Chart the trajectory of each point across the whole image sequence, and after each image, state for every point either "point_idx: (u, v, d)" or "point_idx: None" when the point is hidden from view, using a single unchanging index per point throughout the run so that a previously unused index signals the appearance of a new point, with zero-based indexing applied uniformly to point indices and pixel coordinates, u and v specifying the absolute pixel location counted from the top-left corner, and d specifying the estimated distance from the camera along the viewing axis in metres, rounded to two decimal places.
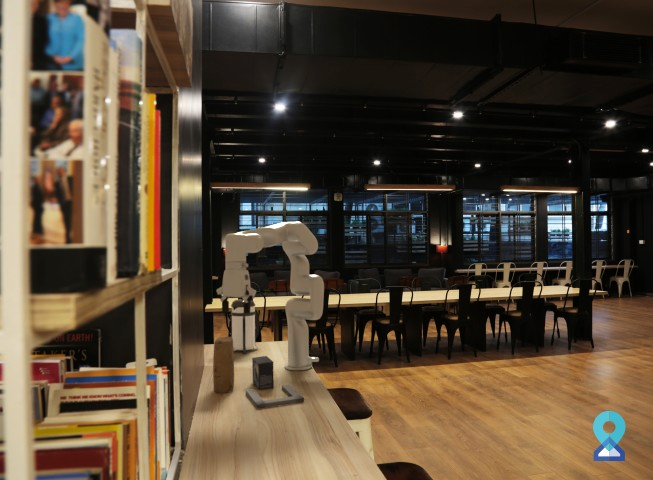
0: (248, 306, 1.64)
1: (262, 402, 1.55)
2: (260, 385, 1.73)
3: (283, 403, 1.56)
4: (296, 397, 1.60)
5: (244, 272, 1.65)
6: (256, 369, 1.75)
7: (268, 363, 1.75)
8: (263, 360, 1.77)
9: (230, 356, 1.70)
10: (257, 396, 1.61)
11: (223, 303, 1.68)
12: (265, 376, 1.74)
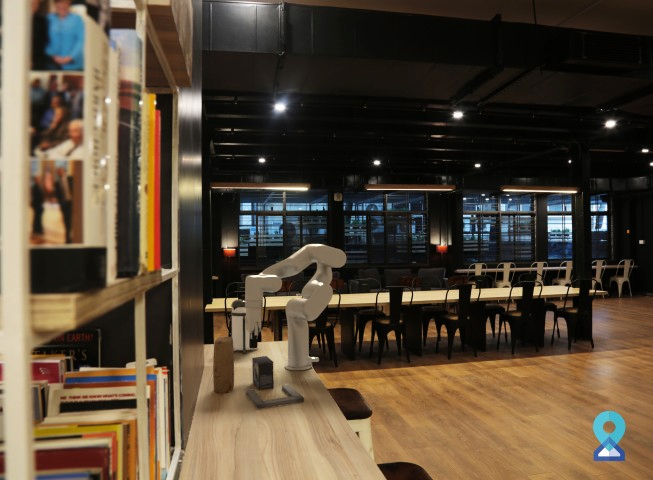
0: None
1: (262, 402, 1.55)
2: (260, 385, 1.73)
3: (283, 403, 1.56)
4: (296, 397, 1.60)
5: None
6: (256, 369, 1.75)
7: (268, 363, 1.75)
8: (263, 360, 1.77)
9: (230, 356, 1.70)
10: (257, 396, 1.61)
11: None
12: (265, 376, 1.74)
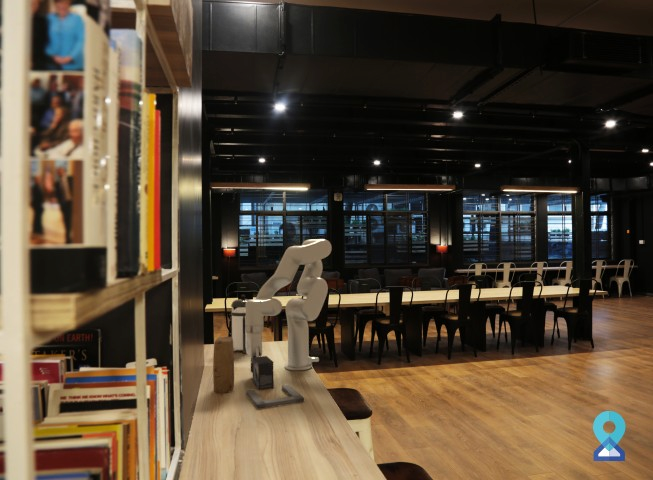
0: None
1: (262, 402, 1.55)
2: (260, 385, 1.73)
3: (283, 403, 1.56)
4: (296, 397, 1.60)
5: None
6: (256, 369, 1.75)
7: (268, 363, 1.75)
8: (263, 360, 1.77)
9: (230, 356, 1.70)
10: (257, 396, 1.61)
11: None
12: (265, 376, 1.74)
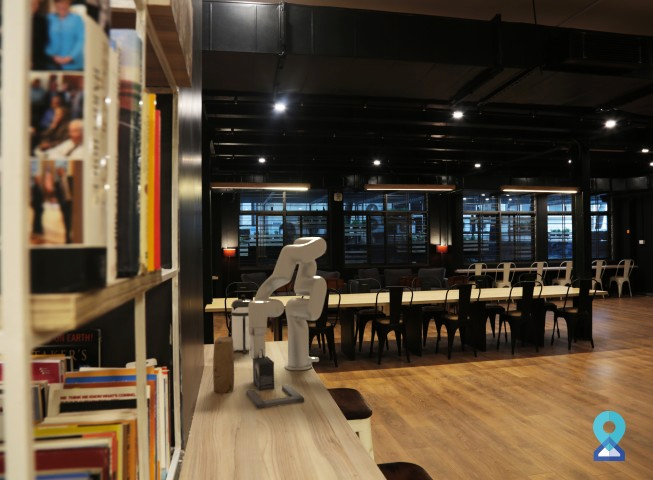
0: None
1: (262, 402, 1.55)
2: (260, 386, 1.72)
3: (283, 403, 1.56)
4: (296, 397, 1.60)
5: None
6: (257, 369, 1.74)
7: (269, 363, 1.74)
8: (264, 360, 1.76)
9: (230, 356, 1.70)
10: (257, 396, 1.61)
11: None
12: (265, 376, 1.73)
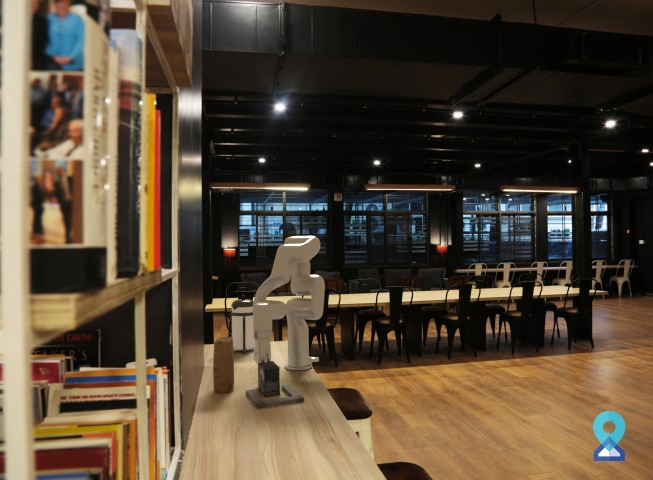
0: None
1: (262, 402, 1.55)
2: (266, 392, 1.65)
3: (283, 403, 1.56)
4: (296, 397, 1.60)
5: None
6: (261, 375, 1.67)
7: (274, 369, 1.66)
8: (269, 365, 1.69)
9: (230, 356, 1.70)
10: (257, 396, 1.61)
11: None
12: (270, 382, 1.65)
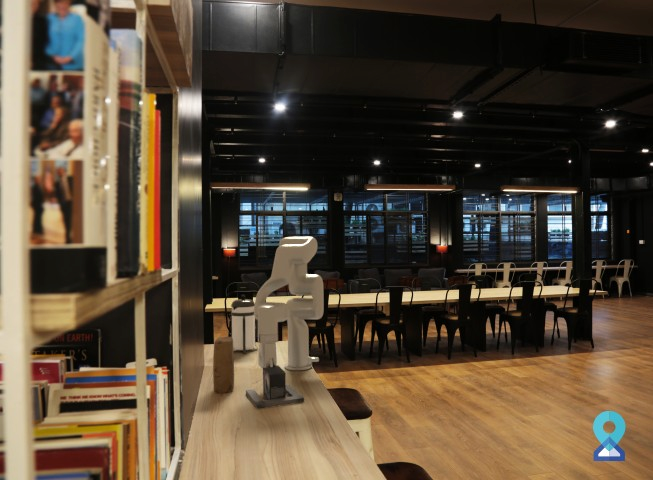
0: None
1: (262, 402, 1.55)
2: (271, 398, 1.58)
3: (283, 403, 1.56)
4: (296, 397, 1.60)
5: None
6: (267, 380, 1.60)
7: (280, 374, 1.59)
8: (274, 370, 1.62)
9: (230, 356, 1.70)
10: (257, 396, 1.61)
11: None
12: (276, 388, 1.59)
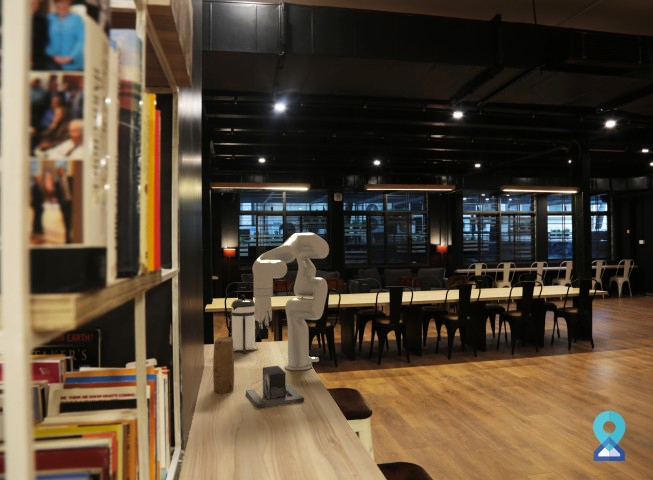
0: None
1: (262, 402, 1.55)
2: (271, 398, 1.58)
3: (283, 403, 1.56)
4: (296, 397, 1.60)
5: None
6: (267, 381, 1.60)
7: (280, 374, 1.59)
8: (274, 371, 1.62)
9: (230, 356, 1.70)
10: (257, 396, 1.61)
11: None
12: (276, 388, 1.58)
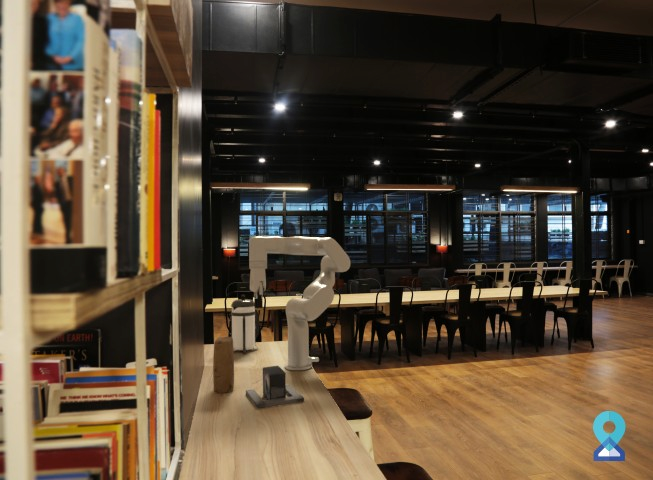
0: None
1: (262, 402, 1.55)
2: (271, 398, 1.58)
3: (283, 403, 1.56)
4: (296, 397, 1.60)
5: None
6: (267, 381, 1.60)
7: (280, 374, 1.59)
8: (274, 371, 1.62)
9: (230, 356, 1.70)
10: (257, 396, 1.61)
11: None
12: (276, 388, 1.58)
